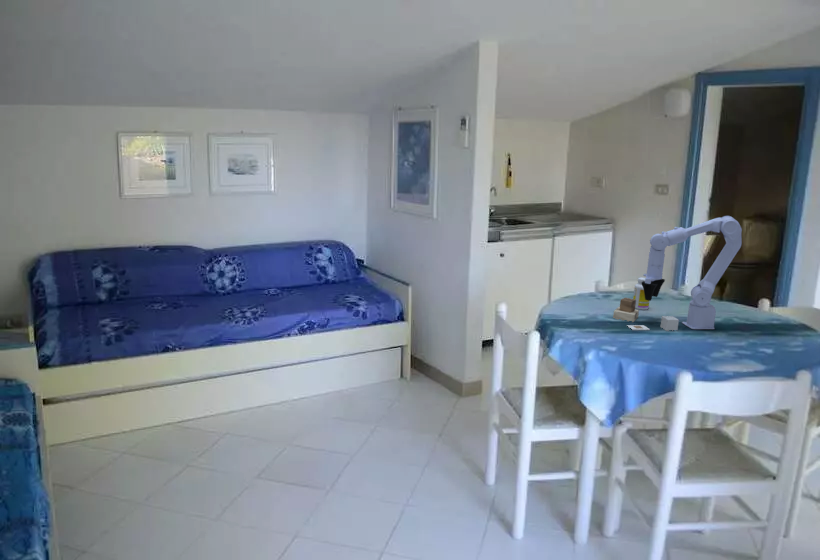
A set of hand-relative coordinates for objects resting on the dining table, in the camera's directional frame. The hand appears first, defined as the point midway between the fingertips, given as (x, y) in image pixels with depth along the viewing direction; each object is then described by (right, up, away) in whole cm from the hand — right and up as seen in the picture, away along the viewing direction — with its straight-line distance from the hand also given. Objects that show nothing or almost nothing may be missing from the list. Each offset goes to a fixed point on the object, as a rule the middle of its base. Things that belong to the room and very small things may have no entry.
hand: (651, 298), depth 261 cm
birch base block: (-9, -8, +5) cm, 13 cm away
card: (-8, -11, -8) cm, 16 cm away
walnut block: (-8, -5, +4) cm, 11 cm away
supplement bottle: (+3, -5, +20) cm, 21 cm away
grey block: (+4, -12, -7) cm, 14 cm away
